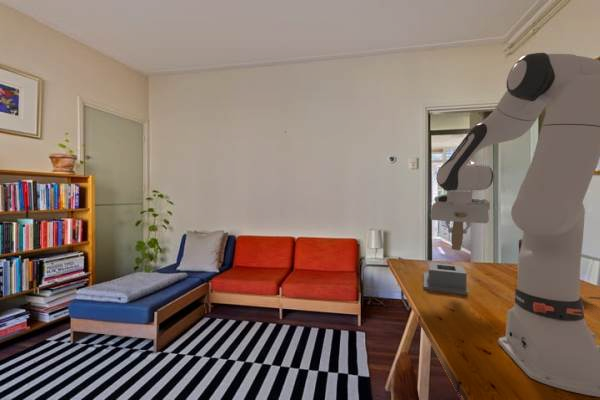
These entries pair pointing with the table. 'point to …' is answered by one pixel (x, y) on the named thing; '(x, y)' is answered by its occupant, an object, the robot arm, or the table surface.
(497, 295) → the table surface
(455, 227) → the handle
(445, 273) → the socket block
